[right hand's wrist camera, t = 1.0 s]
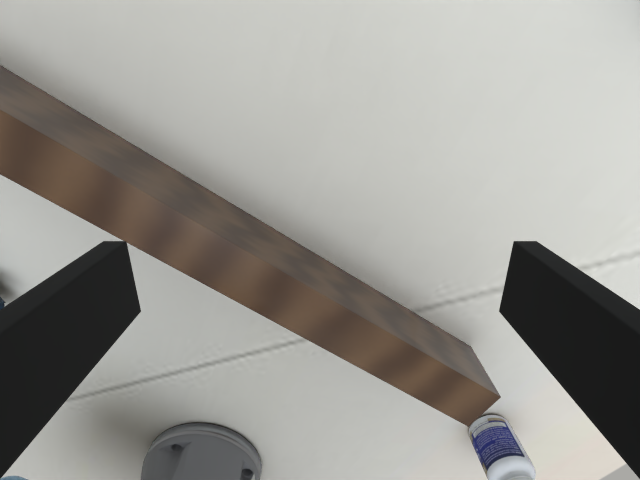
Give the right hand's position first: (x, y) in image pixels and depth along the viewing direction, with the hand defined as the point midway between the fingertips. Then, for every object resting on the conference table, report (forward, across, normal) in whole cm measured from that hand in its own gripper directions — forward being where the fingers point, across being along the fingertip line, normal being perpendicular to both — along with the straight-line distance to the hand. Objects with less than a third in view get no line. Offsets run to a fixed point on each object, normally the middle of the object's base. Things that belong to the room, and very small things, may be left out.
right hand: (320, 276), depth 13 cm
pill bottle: (+23, -22, +34) cm, 46 cm away
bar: (+23, +8, +7) cm, 26 cm away
